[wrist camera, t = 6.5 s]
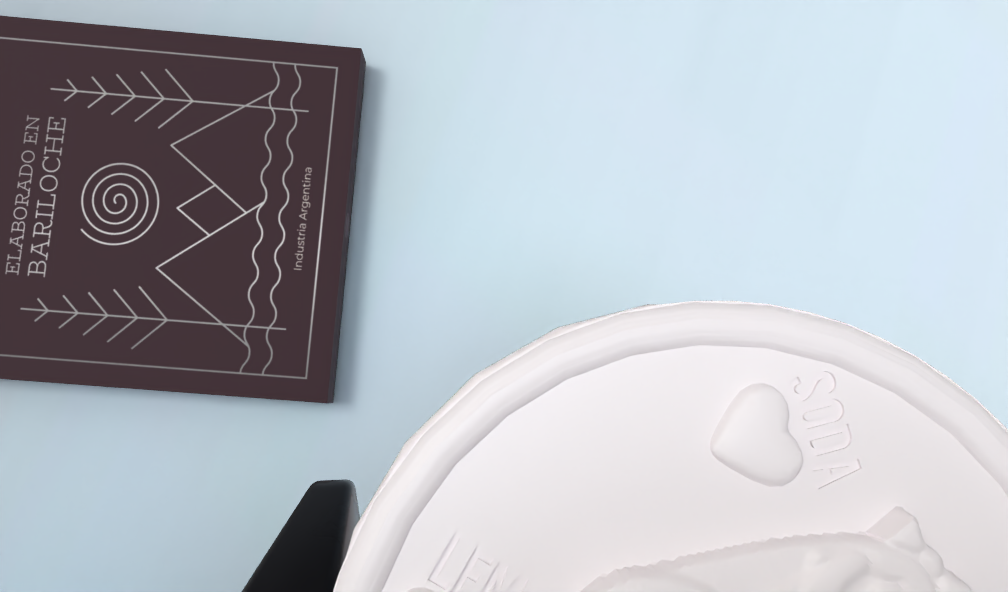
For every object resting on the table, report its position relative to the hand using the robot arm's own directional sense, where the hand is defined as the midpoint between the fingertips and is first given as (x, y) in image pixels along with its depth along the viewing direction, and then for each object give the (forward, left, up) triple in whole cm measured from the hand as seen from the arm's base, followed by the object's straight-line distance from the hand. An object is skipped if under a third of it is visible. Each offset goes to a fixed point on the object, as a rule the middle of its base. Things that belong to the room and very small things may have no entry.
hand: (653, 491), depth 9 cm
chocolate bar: (+13, +8, -13) cm, 20 cm away
